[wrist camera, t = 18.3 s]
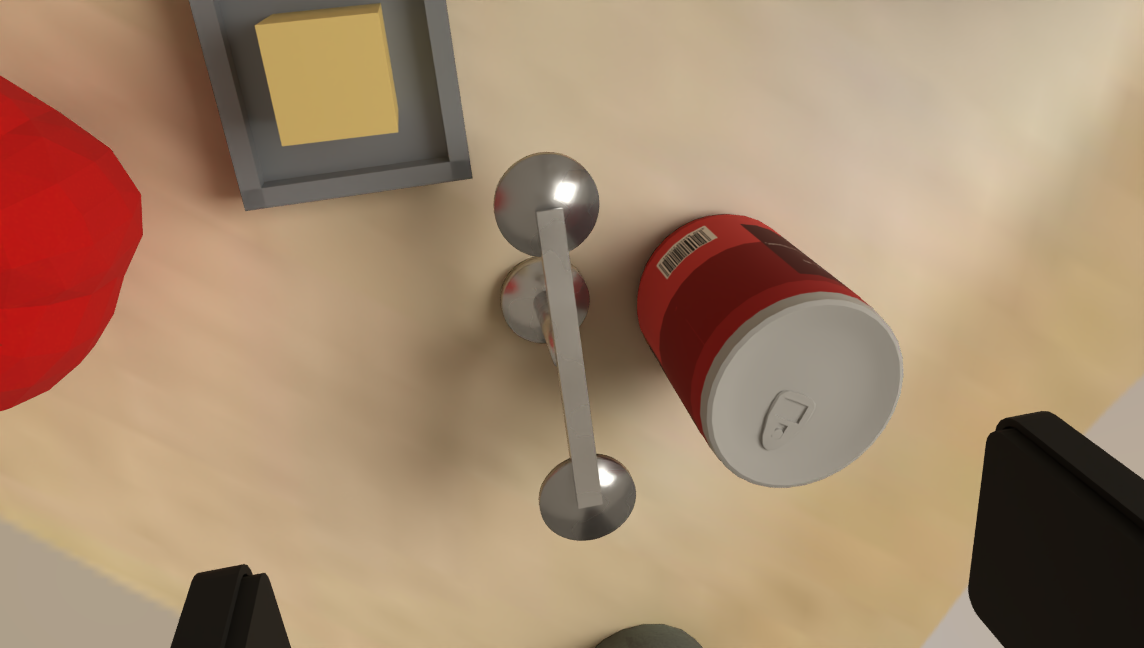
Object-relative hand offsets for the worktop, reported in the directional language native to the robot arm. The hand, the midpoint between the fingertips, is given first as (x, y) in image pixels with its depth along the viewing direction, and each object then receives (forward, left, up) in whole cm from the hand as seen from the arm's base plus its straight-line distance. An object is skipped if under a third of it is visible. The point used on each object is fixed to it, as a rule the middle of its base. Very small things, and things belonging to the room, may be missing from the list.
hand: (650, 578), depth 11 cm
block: (-4, -5, -27) cm, 28 cm away
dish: (-3, -5, -28) cm, 29 cm away
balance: (+8, +2, -28) cm, 29 cm away
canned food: (+9, +10, -28) cm, 32 cm away
